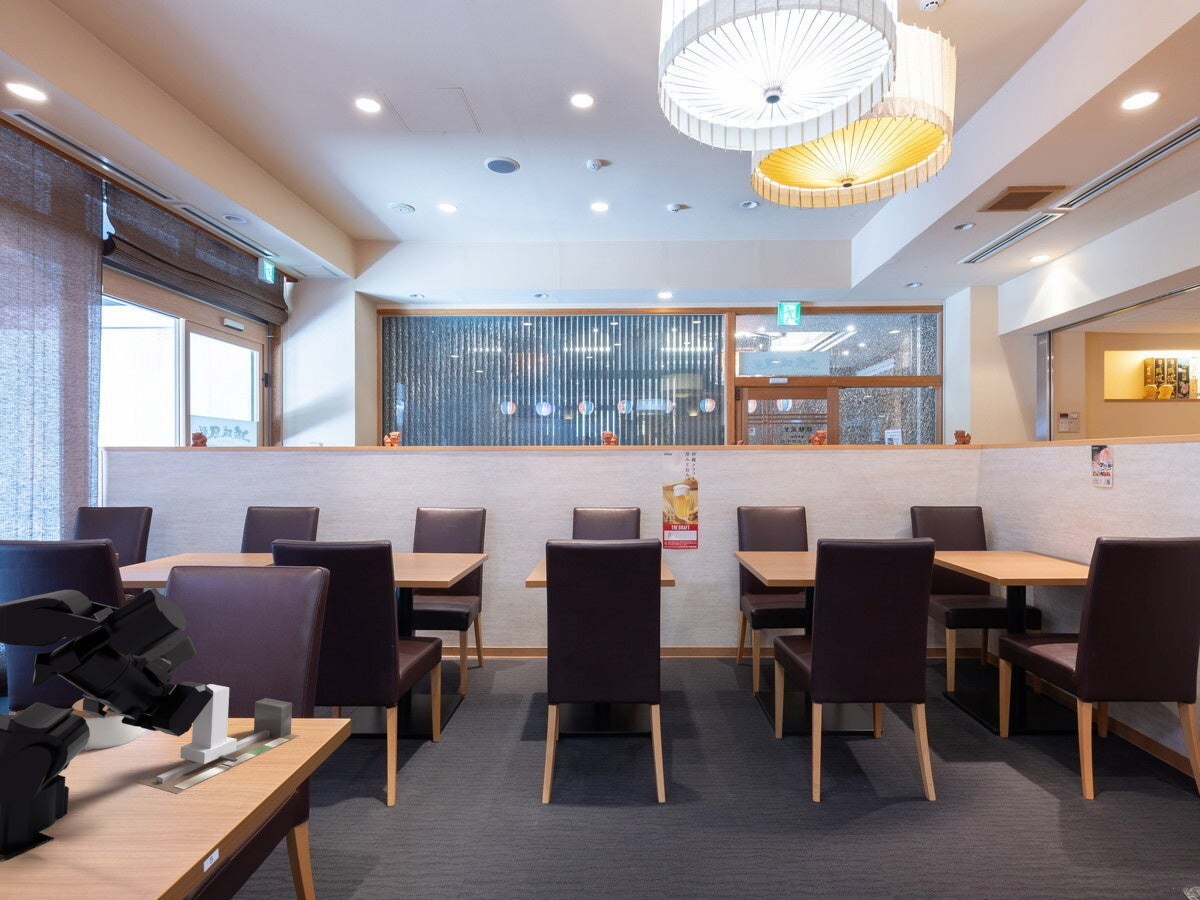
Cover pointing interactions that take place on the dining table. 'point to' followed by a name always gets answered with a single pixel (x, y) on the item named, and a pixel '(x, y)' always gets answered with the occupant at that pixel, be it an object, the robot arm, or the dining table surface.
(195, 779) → the base
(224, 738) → the slider
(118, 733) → the lidded jar
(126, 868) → the dining table surface
